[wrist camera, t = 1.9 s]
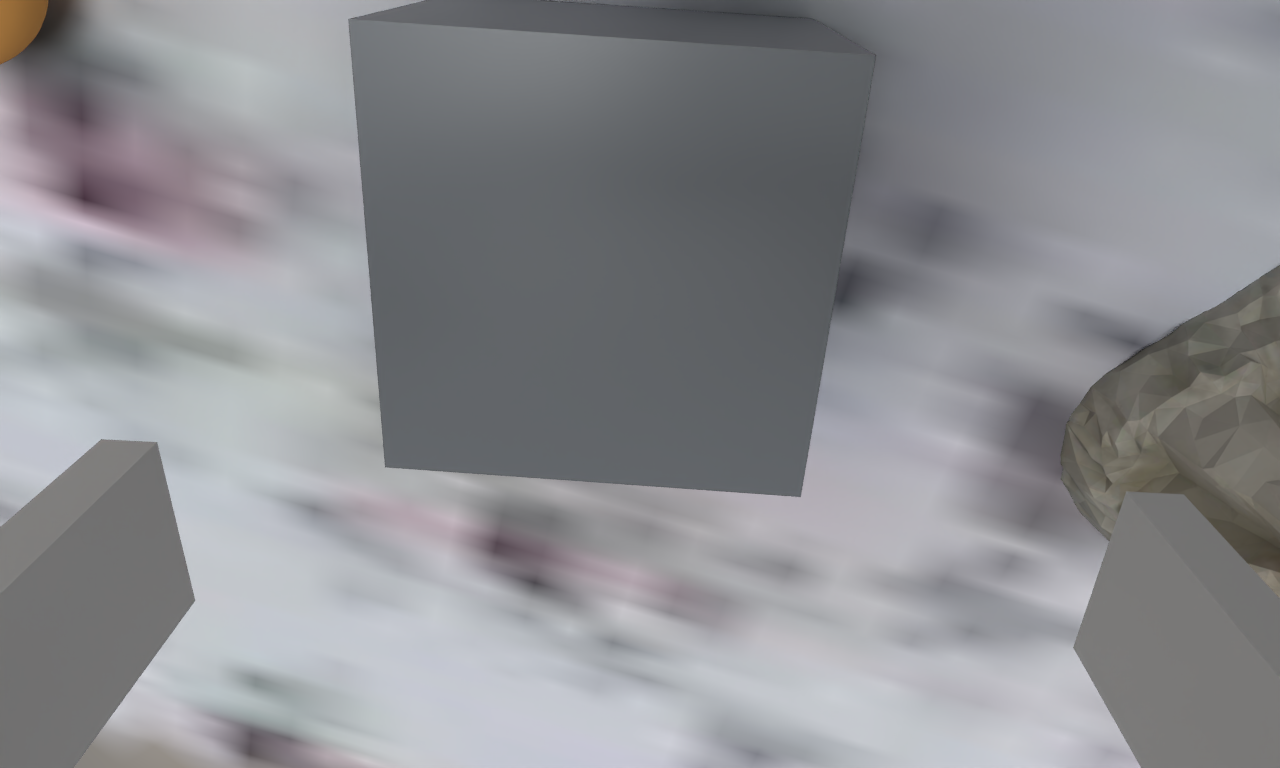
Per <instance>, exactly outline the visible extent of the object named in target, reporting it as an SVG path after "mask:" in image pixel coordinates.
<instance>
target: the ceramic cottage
mask: <svg viewBox="0 0 1280 768" xmlns="http://www.w3.org/2000/svg"><path fill="white" fill-rule="evenodd" d="M1069 419H1070V421H1068V422H1067V424H1066V430H1065V436H1064V441H1063V446H1062V451H1061V465H1062V466H1063V472H1062V476H1061V480H1062V481H1063V482H1064V485H1065V487H1066V488H1067V489H1068V491H1069V493H1070V495H1071V497H1072V499H1073V500H1074V503H1075V505H1076V506H1077V508H1078V510H1079V511H1080V513H1081V514H1082V515H1083V516H1084V517H1085V518H1086V519H1087V520H1088V521H1089V522H1090V523H1091V524H1092V525H1093V526H1094V527H1095V528H1096V529H1097V530H1098V531H1099V532H1100V533H1101V534H1102V535H1103V536H1104V537H1106V538H1107V539H1108V540H1109V541H1110V538H1111V535H1112V532H1113V529H1114V526H1115V523H1116V521H1117V518H1118V515H1119V512H1120V509H1121V506H1122V503H1123V500H1124V497H1125V494H1126V491H1127V492H1147V493H1166V494H1184V495H1185V496H1186V497H1187V498H1188V499H1189V500H1190V502H1191V503H1192V504H1193V505H1194V506H1195V507H1196V508H1197V509H1198V510H1199V511H1200V512H1201V514H1202V515H1203V516H1204V517H1205V518H1206V519H1207V520H1208V521H1209V522H1210V523H1211V524H1212V525H1213V527H1214V528H1215V529H1216V530H1217V531H1218V532H1219V533H1220V534H1221V535H1222V536H1223V537H1224V538H1225V540H1226V541H1227V542H1228V543H1229V544H1230V545H1231V546H1232V547H1233V548H1234V549H1235V550H1236V552H1237V553H1238V554H1239V555H1240V556H1241V557H1242V558H1243V559H1244V560H1245V561H1246V562H1247V563H1248V565H1249V566H1250V567H1251V568H1252V569H1253V570H1254V571H1255V572H1256V573H1257V574H1258V575H1259V576H1260V578H1261V579H1262V580H1263V581H1264V582H1265V583H1266V584H1267V585H1268V586H1269V587H1270V588H1271V590H1272V591H1273V592H1274V593H1275V594H1276V595H1277V596H1278V597H1279V598H1280V266H1278V267H1276V268H1275V269H1273V270H1271V271H1270V272H1268V273H1266V274H1265V275H1263V276H1261V277H1260V278H1259V279H1258V280H1256V281H1254V282H1253V283H1251V284H1250V285H1248V287H1246V288H1245V289H1243V290H1242V291H1238V292H1237V293H1236V294H1235V295H1233V296H1232V297H1230V298H1229V299H1227V300H1226V301H1224V302H1223V303H1221V304H1219V305H1218V306H1216V307H1214V308H1212V309H1210V310H1208V311H1205V312H1203V313H1201V314H1200V315H1198V316H1196V317H1194V318H1192V319H1191V320H1189V321H1187V322H1185V323H1183V324H1182V325H1181V326H1180V327H1178V328H1177V329H1176V330H1175V331H1174V332H1172V333H1171V334H1170V335H1168V336H1167V337H1165V338H1163V339H1161V340H1160V341H1158V342H1156V343H1154V344H1153V345H1151V346H1149V347H1147V348H1145V349H1143V350H1142V351H1141V352H1139V353H1138V354H1136V355H1135V356H1134V357H1132V358H1131V359H1129V360H1128V361H1126V362H1125V363H1123V364H1121V365H1120V366H1118V367H1116V368H1115V369H1113V370H1111V371H1110V372H1108V373H1106V374H1105V375H1104V376H1103V377H1102V378H1101V379H1100V380H1098V381H1097V382H1096V383H1095V384H1094V385H1093V386H1092V387H1091V388H1090V389H1089V391H1088V392H1087V394H1086V395H1085V397H1084V398H1083V400H1082V401H1081V403H1080V404H1079V406H1078V407H1077V408H1076V409H1075V411H1074V412H1073V413H1072V414H1071V416H1070V418H1069Z"/></svg>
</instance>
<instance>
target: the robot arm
mask: <svg viewBox="0 0 1280 768" xmlns="http://www.w3.org/2000/svg"><path fill="white" fill-rule="evenodd" d="M194 601H195V598H194V594H193V590H192V586H191V581H190V577H189V573H188V569H187V565H186V561H185V556H184V552H183V548H182V544H181V540H180V536H179V532H178V527H177V523H176V519H175V515H174V511H173V507H172V502H171V498H170V494H169V490H168V486H167V482H166V478H165V473H164V469H163V465H162V461H161V457H160V453H159V449H158V444H157V442H142V441H122V440H102V439H101V440H100V441H99V442H98V443H97V444H96V445H94V446H93V447H92V448H91V449H90V450H89V451H87V452H86V453H85V454H84V455H83V456H82V457H81V458H79V459H78V460H77V461H76V462H75V463H74V464H73V465H71V466H70V467H69V468H68V469H67V470H66V471H64V472H63V473H62V474H61V475H60V476H59V477H58V478H56V479H55V480H54V481H53V482H52V483H51V484H50V485H48V486H47V487H46V488H45V489H44V490H43V491H41V492H40V493H39V494H38V495H37V496H36V497H35V498H33V499H32V500H31V501H30V502H29V503H28V504H27V505H25V506H24V507H23V508H22V509H21V510H20V511H18V512H17V513H16V514H15V515H14V516H13V517H12V518H10V519H9V520H8V521H7V522H6V523H5V524H4V525H2V526H1V527H0V768H74V767H75V765H76V764H77V762H78V761H79V760H80V758H81V757H82V756H83V754H84V753H85V751H86V750H87V749H88V747H89V746H90V745H91V743H92V742H93V740H94V739H95V738H96V736H97V735H98V734H99V732H100V731H101V729H102V728H103V727H104V725H105V724H106V723H107V721H108V720H109V718H110V717H111V716H112V714H113V713H114V712H115V710H116V709H117V707H118V706H119V705H120V703H121V702H122V701H123V699H124V698H125V696H126V695H127V694H128V692H129V691H130V689H131V688H132V687H133V685H134V684H135V683H136V681H137V680H138V678H139V677H140V676H141V674H142V673H143V672H144V670H145V669H146V667H147V666H148V665H149V663H150V662H151V661H152V659H153V658H154V656H155V655H156V654H157V652H158V651H159V650H160V648H161V647H162V645H163V644H164V643H165V641H166V640H167V639H168V637H169V636H170V634H171V633H172V632H173V630H174V629H175V628H176V626H177V625H178V623H179V622H180V621H181V619H182V618H183V617H184V615H185V614H186V612H187V611H188V610H189V608H190V607H191V606H192V604H193V603H194ZM1073 648H1074V649H1075V651H1076V653H1077V655H1078V657H1079V658H1080V660H1081V662H1082V664H1083V665H1084V667H1085V669H1086V671H1087V672H1088V674H1089V676H1090V678H1091V680H1092V681H1093V683H1094V685H1095V687H1096V688H1097V690H1098V692H1099V694H1100V695H1101V697H1102V699H1103V701H1104V703H1105V704H1106V706H1107V708H1108V710H1109V711H1110V713H1111V715H1112V717H1113V718H1114V720H1115V722H1116V724H1117V726H1118V727H1119V729H1120V731H1121V733H1122V734H1123V736H1124V738H1125V740H1126V742H1127V743H1128V745H1129V747H1130V749H1131V750H1132V752H1133V754H1134V756H1135V757H1136V759H1137V761H1138V763H1139V765H1140V766H1141V768H1280V598H1279V597H1278V596H1277V595H1276V594H1275V593H1274V592H1273V591H1272V590H1271V588H1270V587H1269V586H1268V585H1267V584H1266V583H1265V582H1264V581H1263V580H1262V579H1261V578H1260V576H1259V575H1258V574H1257V573H1256V572H1255V571H1254V570H1253V569H1252V568H1251V567H1250V566H1249V565H1248V563H1247V562H1246V561H1245V560H1244V559H1243V558H1242V557H1241V556H1240V555H1239V554H1238V553H1237V552H1236V550H1235V549H1234V548H1233V547H1232V546H1231V545H1230V544H1229V543H1228V542H1227V541H1226V540H1225V538H1224V537H1223V536H1222V535H1221V534H1220V533H1219V532H1218V531H1217V530H1216V529H1215V528H1214V527H1213V525H1212V524H1211V523H1210V522H1209V521H1208V520H1207V519H1206V518H1205V517H1204V516H1203V515H1202V514H1201V512H1200V511H1199V510H1198V509H1197V508H1196V507H1195V506H1194V505H1193V504H1192V503H1191V502H1190V500H1189V499H1188V498H1187V497H1186V496H1185V495H1184V494H1166V493H1147V492H1127V491H1126V494H1125V497H1124V500H1123V503H1122V506H1121V509H1120V512H1119V515H1118V518H1117V521H1116V523H1115V526H1114V529H1113V532H1112V535H1111V538H1110V541H1109V544H1108V547H1107V550H1106V553H1105V556H1104V559H1103V562H1102V565H1101V568H1100V571H1099V573H1098V576H1097V579H1096V582H1095V585H1094V588H1093V591H1092V594H1091V597H1090V600H1089V603H1088V606H1087V609H1086V612H1085V615H1084V618H1083V620H1082V623H1081V626H1080V629H1079V632H1078V635H1077V638H1076V641H1075V644H1074V647H1073Z"/></svg>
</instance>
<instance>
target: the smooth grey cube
mask: <svg viewBox="0 0 1280 768" xmlns="http://www.w3.org/2000/svg"><path fill="white" fill-rule="evenodd" d="M348 20H349V33H350V45H351V57H352V69H353V81H354V94H355V106H356V118H357V130H358V142H359V154H360V167H361V179H362V191H363V203H364V215H365V228H366V240H367V252H368V264H369V276H370V289H371V301H372V313H373V325H374V337H375V350H376V362H377V374H378V386H379V398H380V410H381V423H382V435H383V447H384V459H385V467H389V468H403V469H417V470H431V471H445V472H459V473H473V474H487V475H501V476H515V477H529V478H543V479H557V480H571V481H585V482H599V483H613V484H627V485H641V486H655V487H669V488H683V489H697V490H711V491H725V492H739V493H753V494H767V495H781V496H795V497H801V492H802V486H803V480H804V474H805V468H806V462H807V457H808V451H809V445H810V439H811V433H812V427H813V421H814V416H815V410H816V404H817V398H818V392H819V386H820V380H821V375H822V369H823V363H824V357H825V351H826V345H827V340H828V334H829V328H830V322H831V316H832V310H833V304H834V299H835V293H836V287H837V281H838V275H839V269H840V263H841V258H842V252H843V246H844V240H845V234H846V228H847V222H848V217H849V211H850V205H851V199H852V193H853V187H854V182H855V176H856V170H857V164H858V158H859V152H860V146H861V141H862V135H863V129H864V123H865V117H866V111H867V105H868V100H869V94H870V88H871V82H872V76H873V70H874V64H875V59H876V55H875V54H873V53H871V52H869V51H868V50H866V49H864V48H863V47H861V46H859V45H857V44H856V43H854V42H852V41H850V40H849V39H847V38H845V37H844V36H842V35H840V34H838V33H837V32H835V31H833V30H831V29H830V28H828V27H826V26H825V25H823V24H821V23H819V22H818V21H816V20H814V19H808V18H794V17H779V16H764V15H750V14H735V13H720V12H706V11H691V10H677V9H662V8H647V7H633V6H618V5H603V4H589V3H574V2H559V1H545V0H426V1H422V2H417V3H413V4H409V5H405V6H401V7H397V8H393V9H388V10H384V11H380V12H376V13H372V14H368V15H364V16H360V17H355V18H351V19H348Z"/></svg>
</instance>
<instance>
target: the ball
mask: <svg viewBox="0 0 1280 768" xmlns="http://www.w3.org/2000/svg"><path fill="white" fill-rule="evenodd" d="M47 8H48V0H0V64H2V63H4V62H6V61H8V60H10V59H12V58H13V57H15V56H17V55H18V54H19V53H20V52H22V51H23V50H24V49H25V48H26V47H27V46H28V45H29V44H30V43H31V42H32V41H33V39H34V38H35V37H36V35H37V34H38V32H39V30H40V28H41V26H42V24H43V21H44V19H45V16H46V12H47Z"/></svg>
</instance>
